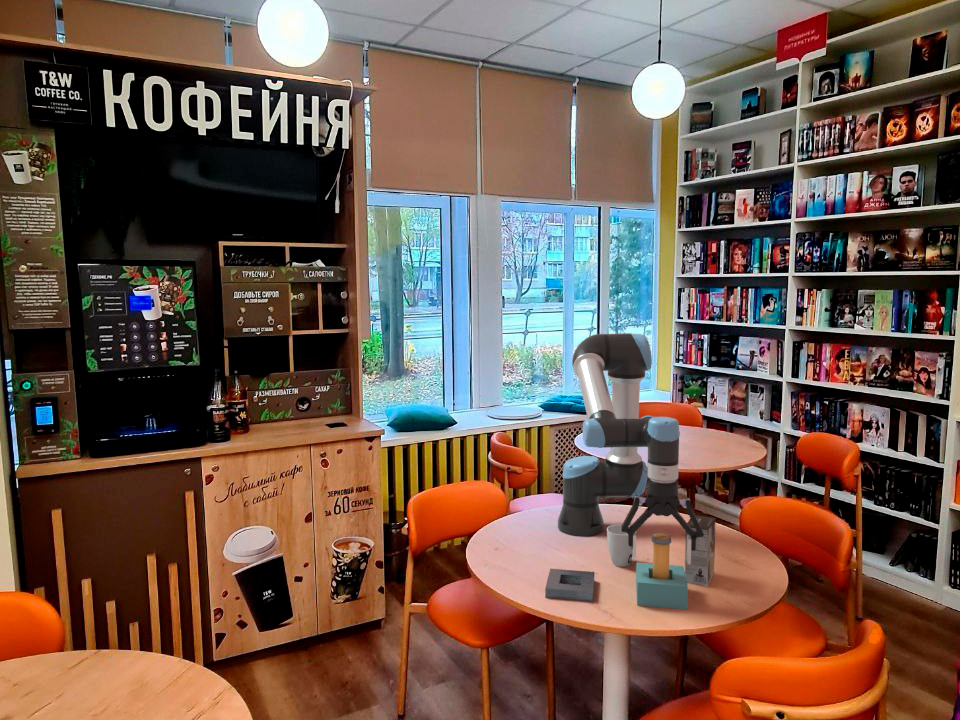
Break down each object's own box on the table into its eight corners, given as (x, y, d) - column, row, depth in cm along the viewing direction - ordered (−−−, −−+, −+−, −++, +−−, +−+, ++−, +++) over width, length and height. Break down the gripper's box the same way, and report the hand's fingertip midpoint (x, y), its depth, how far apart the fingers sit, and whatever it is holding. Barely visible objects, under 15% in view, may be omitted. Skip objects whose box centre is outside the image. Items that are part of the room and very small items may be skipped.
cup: (635, 570, 184) (636, 535, 183) (606, 567, 185) (606, 533, 184) (634, 558, 192) (635, 525, 191) (606, 556, 193) (607, 523, 192)
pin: (650, 591, 171) (651, 532, 169) (669, 593, 170) (670, 533, 168) (651, 599, 166) (652, 539, 164) (670, 601, 165) (672, 540, 163)
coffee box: (690, 569, 184) (692, 514, 182) (714, 573, 181) (716, 517, 179) (683, 582, 176) (685, 524, 174) (708, 587, 173) (710, 528, 171)
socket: (636, 584, 175) (636, 562, 174) (682, 587, 173) (683, 566, 172) (637, 605, 163) (637, 582, 163) (687, 609, 161) (687, 586, 160)
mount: (550, 577, 180) (550, 568, 180) (594, 580, 177) (594, 571, 177) (545, 597, 168) (545, 588, 168) (592, 601, 166) (592, 592, 165)
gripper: (612, 480, 164) (611, 562, 166) (716, 485, 158) (714, 570, 161) (612, 472, 171) (611, 550, 173) (712, 477, 166) (710, 557, 168)
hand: (661, 560), depth 167 cm, fingers open, 13 cm apart
